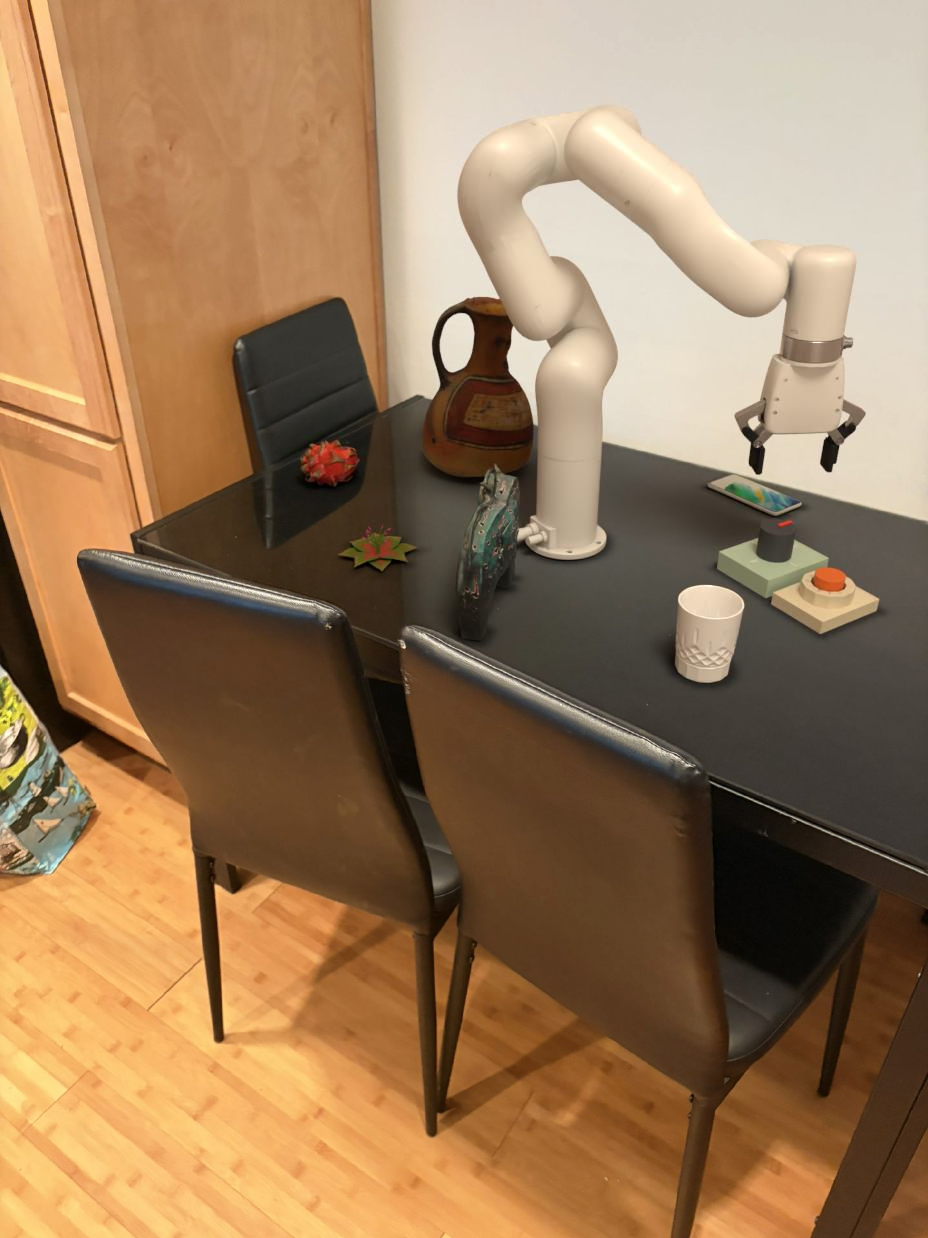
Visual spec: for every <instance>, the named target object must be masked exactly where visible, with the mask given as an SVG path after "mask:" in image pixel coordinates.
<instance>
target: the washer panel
mask: <svg viewBox="0 0 928 1238" xmlns="http://www.w3.org/2000/svg"><path fill="white" fill-rule="evenodd" d="M757 543H758V537H757V538H754V539H751V540H748V541H745V542H742V543H740V544H737V545H734V546H731V547H728V548H725V549H723V550H719V551H718V557H717V565H716V570H718V571H720V572H721V573H722V574H725V575H726V576H728V577H730V578H732V579H733V580H735V581H736V582H738V583H740V584H741V585H743V586H744V587H746V588H748V589H750V590H751V591H753V592H755V593H756V594H758V595H759V596H760V597H762V598H764V599H768V598H770V597H772V595H773V592H775V591H778V590H781V589H783V588H786V587H789V586H791V585H794V584H797V583H799V582H801V580H802V578H803V576H804V575H805V574H807V573H809V572H812V571H816V570H817V569H819V568H825V567H828V565H829V559H830V558H829V557H827V556H826V555H824V554H822V553H821V552H818V551H816V550H814V549H813V548H811V547H809V546H807V545H806V544H803V543H801V542H800V541H798V540H796V539H795V540H794V546H793V551H792V556H791V558H790V559H789V560H788V561H785V562H769V561H766V560H763V559H761V558H760V557H758V556H757V554H756V549H757Z"/></svg>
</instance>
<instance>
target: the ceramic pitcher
mask: <svg viewBox="0 0 928 1238" xmlns="http://www.w3.org/2000/svg"><path fill="white" fill-rule="evenodd" d="M458 314H465V315H467V316H468V317H469V319H470V320H471V323H472V327H473V344H472V350H471V353H470V357H469V359H468V361H467V363H466V364H465V366H464V367H462V368H460V369H458V370H456V371H449V370H448V369H447V368H446V366H445V363H444V361H443V358H442V353H441V339H442V335H443V331H444V328H445V325H446V323H447V322H448V320H450V319H451V318H452V317H453V316H455V315H458ZM513 328H514V326H513V324H512V322H511V321H510V319H509V316H508V314H507V312H506V310H505V308H504V306H503V304H502V302H501V300H500V298H495V297H491V296H472V297H467V298H465V299H464V300H461V301H459V302H458V303H455V304H454V305H451V306H449V307H448V308H447V309H445V310H444V311H443V313H441V315H440V316H439V317H438V319H437V322H436V324H435V327H434V329H433V334H432V338H431V351H432V352H431V353H432V358H433V361H434V365H435V367H436V372H437V374H438V380H439V387H438V390H437V392H435V394H434V396H433V398H432V399H431V401H430V403H429V406H428V407H427V410H426V413H425V416H424V420H423V426H422V434H421V435H422V436H421V437H422V438H421V445H422V452H423V454H424V456H425V457H426V459H427V460H428V461H429V462H430V463H431V465H433V466H434V467H435V468H436V469H438V470H440V471H441V472H443V473H445V474H448V475H450V476H454V477H459V478H485V475H486V473H487V471H488V470H489V469H491V468H492V469H495V466H494V463H495V464H496V465H497V466H498V468H499V469H500V471H501V472H502V473H503V474H505V475H506V474H508V473H512V472H514V471H517V470H519V469H521V468H523V467H525V465H527V463H528V462H529V460H530V457H531V454H532V450H533V444H534V430H535V426H534V417H533V413H532V408H531V404H530V401H529V398H528V396H527V394H526V392H525V391H524V389H523V387H522V386H521V384H520V382H519V381H518V380H517V379H516V378H515V377H514V376H513V374H511V372H510V367H509V361H508V353H509V351H510V349H511V346H512V335H513ZM492 473H493V472H491V474H492Z"/></svg>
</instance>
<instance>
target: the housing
mask: <svg viewBox="0 0 928 1238" xmlns="http://www.w3.org/2000/svg"><path fill="white" fill-rule="evenodd" d="M814 575H815V571H812V572H809V573H807V574H805V575H804V576H803V578H802V580H801V582H799V583H797V584H794V585H791V586H789V587H786V588H783V589H781V590H778V591H775V592H773V595H772V596H771V602H770V605H771V606H772V607H775V608H776V609H778V610H780V611H782V612H783V613H785V614H787V615H788V616H790V617H791V618H793V619H795V620H796V621H798V622H799V623H801V624H802V625H804V626H806V627H808V628H809V629H811V630H812V631H814V632H816V633H817V634H819V635H821V634H824V633H827V632H829V631H832V630H833V629H836V628H840V627H841V626H844V625H846V624H848V623H851V622H854V621H855V620H858V619H860V618H863V617H866V616H868V615H870V614H873V613H875V612H877V611H878V606H879V602H880V598H879V597H877V596H875V595H873V594H871V593H869V592H867V591H865V590H864V589H862V588H860V587H859V586H857V585H856V584H855V583H854V581H853V580H852V579H851V578H850V577H848V576H846V579H845V583H844V588H843V590H841V591H839V592H828V591H823V590H820V589H818V588H816V587H815V586H814V585H813V580H814Z"/></svg>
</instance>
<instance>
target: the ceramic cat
mask: <svg viewBox="0 0 928 1238" xmlns="http://www.w3.org/2000/svg"><path fill="white" fill-rule="evenodd" d="M494 466H495V469H492V468H491V469H489V470H488V471H487V473H486V475H485V477H484V479H483V481H482V482H479V486H480V487H479V490H478V494H477V495H478V496H477V507H476V509H475V510H474V512H473V514H472V516H471V518H470V520H469V522H468V523H467V526H466V528H465V530H464V532H463V533H464V534H463V537H462V541H461V547H460V551H459V556H458V561H457V568H456V575H455V587H454V590H455V604H456V610H457V611H456V612H457V616H458V620H459V627H460V633H461V634H460V635H461V638H462V639H464V640H469V641H477V642H481V641H482V640H483V639H484V638H485V637H486V633H487V630H488V623H489V615H490V610H491V607H492V601H493V599H494V594H495V591H496V588H501V589H502V588H503V589H510V587H511V583H512V581H513V580H514V577H515V568H516V557H517V552H518V551H517V549H518V547H517V546H518V542H517V536H518V532H519V528H520V525H519V524H520V523H519V514H520V513H519V512H520V504H521V503H520V502H521V494H520V492H521V491H520V483H519V479H518V477H516V476H513V475H508V474H506V473H505V474H503V473H502V472H501V471H500V469H499V468H498V466H497V465H496V464H495V463H494ZM491 472H493V473H492V474H491Z"/></svg>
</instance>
